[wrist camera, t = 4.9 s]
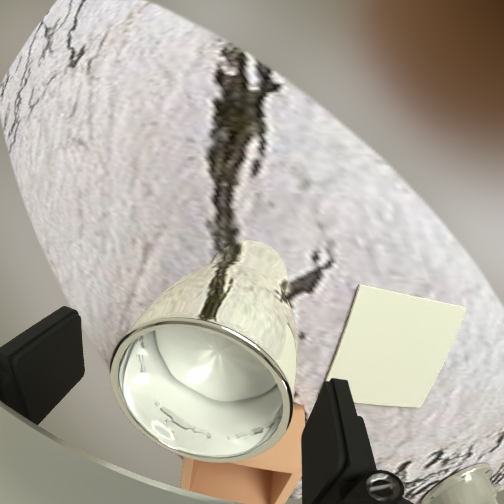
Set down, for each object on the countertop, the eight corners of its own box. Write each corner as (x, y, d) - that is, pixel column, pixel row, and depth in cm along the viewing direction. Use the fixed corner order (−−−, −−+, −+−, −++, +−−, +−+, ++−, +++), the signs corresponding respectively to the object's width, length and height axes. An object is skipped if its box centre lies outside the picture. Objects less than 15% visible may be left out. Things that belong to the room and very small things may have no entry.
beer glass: (216, 324, 25) (145, 461, 10) (195, 242, 24) (77, 320, 9) (300, 312, 24) (309, 461, 9) (285, 226, 23) (281, 295, 8)
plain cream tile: (465, 307, 22) (467, 308, 22) (418, 405, 25) (420, 407, 24) (359, 284, 23) (360, 285, 23) (319, 395, 25) (319, 397, 25)
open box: (304, 405, 26) (306, 469, 18) (279, 460, 28) (275, 517, 20) (209, 384, 26) (184, 444, 19) (199, 443, 28) (179, 497, 21)
